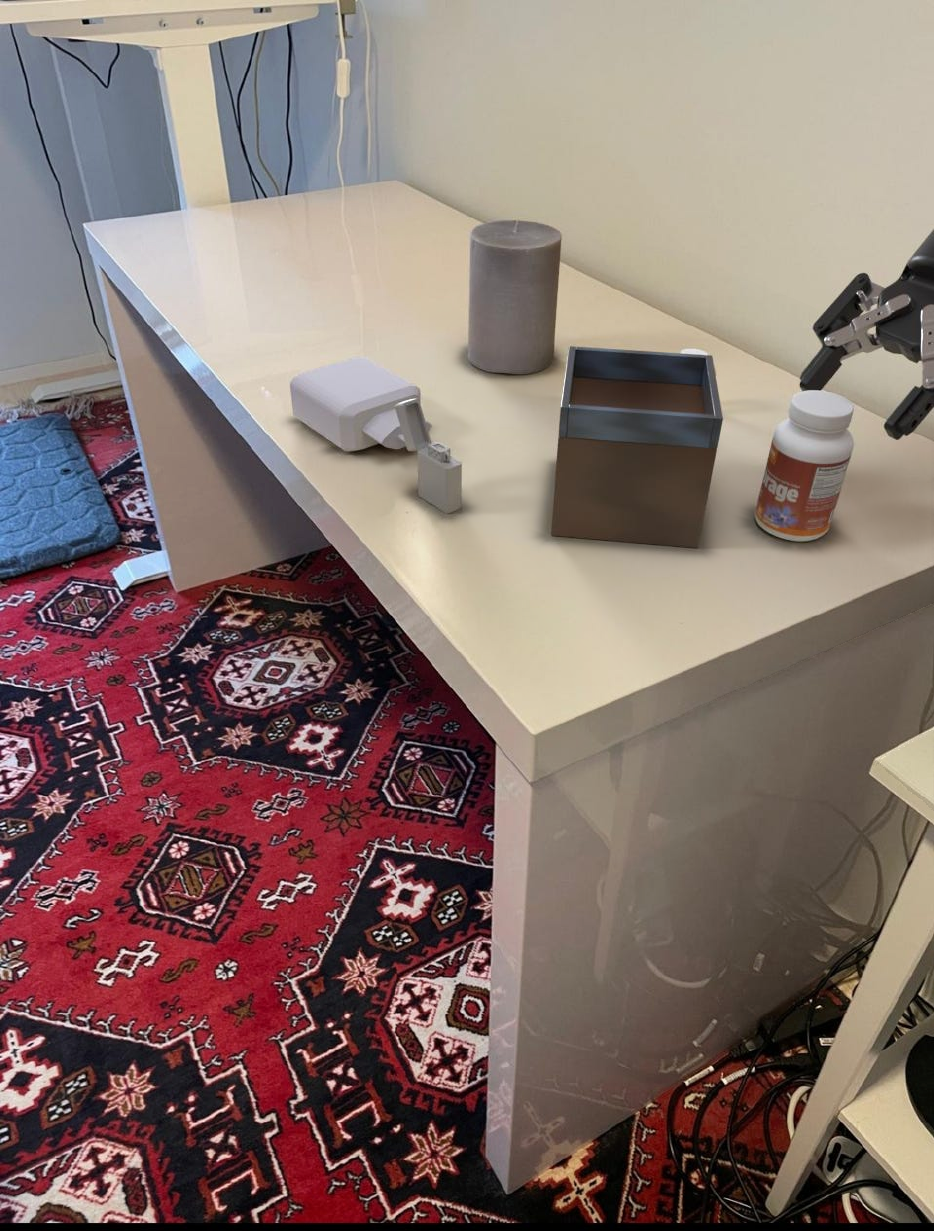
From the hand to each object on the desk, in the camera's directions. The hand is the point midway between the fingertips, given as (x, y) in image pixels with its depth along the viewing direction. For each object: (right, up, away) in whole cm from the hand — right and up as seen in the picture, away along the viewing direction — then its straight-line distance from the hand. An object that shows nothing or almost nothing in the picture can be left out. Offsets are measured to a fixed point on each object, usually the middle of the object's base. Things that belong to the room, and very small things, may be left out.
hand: (846, 412), depth 76 cm
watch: (-8, +5, +22) cm, 24 cm away
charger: (-39, +1, +16) cm, 42 cm away
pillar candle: (-25, +13, +31) cm, 42 cm away
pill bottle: (-3, -9, +4) cm, 10 cm away
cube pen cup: (-17, -7, +7) cm, 19 cm away
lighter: (-34, -6, +8) cm, 35 cm away
